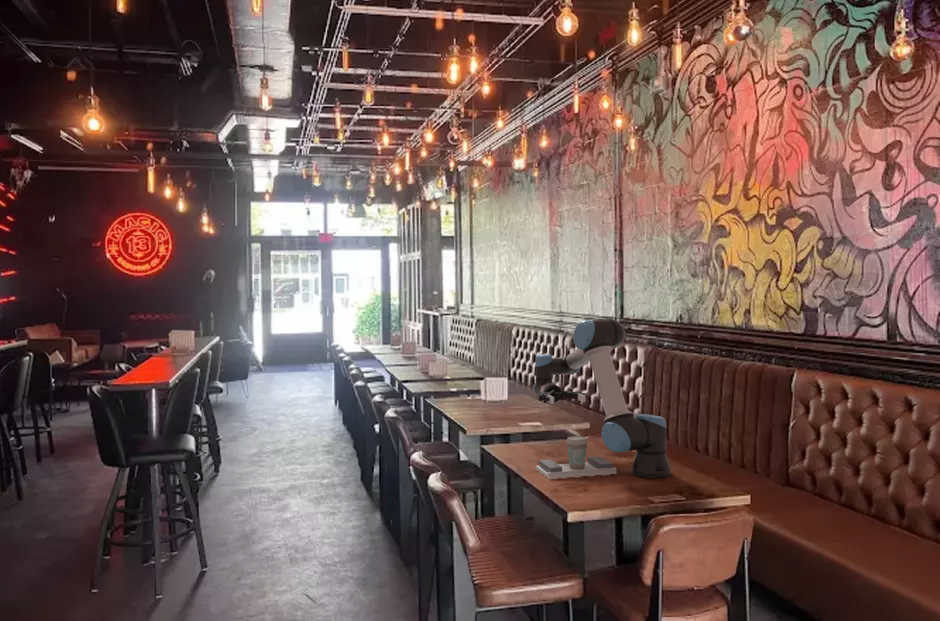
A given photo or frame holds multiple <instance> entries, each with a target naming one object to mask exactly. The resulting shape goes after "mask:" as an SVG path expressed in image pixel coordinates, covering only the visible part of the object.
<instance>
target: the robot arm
mask: <svg viewBox="0 0 940 621" xmlns="http://www.w3.org/2000/svg"><path fill="white" fill-rule="evenodd" d="M625 339H626V331H625V328H624V326H623V324H622V323H620V322H619V321H617V320H616V319H611V318H606V319H587V320H581V321H579V323H577V324H576V326H575V328H574V331H573V339H572V340H573V344H574V346H575V347H576V349H575V350H573V351H571V352H570V353H569V354H567V355H566V356H564V357H558V358H557V357H555V358H553V355H552V354H545V353H544V354H537V355H536V356H535V362H534V364H535V366H534V367H535V382H534V384H533V386H532V391H533V392H534V394H535V396H537V397H538V401H539V402H543V404H547V403H549V404H551V405H554V404H555V403H557V402H559V401H560V400H568V399H569V400H570V399H571V400H577V401H580V402H582V403H586V392H582V391H573V390H563V389H562V388H561V387H560V386H558V385H556V384H554V383H553V376H555V375H556V376H558V375H559V376H560V375H561V376H562V375H573V374H578V373H579V372H580V370H581V368H582V367H583V366H584V365H587V363H589V362H590V366H591V369H592V373H593V375H594V376H593V377H594V379H595V382H596V385H597V386H596V387H597V389H598V392H599V396H600V400H601V402H602V405H603V406H602V407H603V410H604V413H605V417H604V419H603V423H604V424H603V426H602V427H601V438H602V441H603V443H604V445H605V446H606V448H607V449H609V450H610V451H611V452H613V453H626V452H632V451H635V456H634V459H633V461H632V464H631V474H632V475H633V476H636V477H640V478H645V479H664V478H668V477H671V475H672V467H671V466H670V462H669V459H668V456H667V429H668V428H667V421H666V418H665V417H663V416H659V415H654V414H645V413H637V414H636V415H635V416H634V412H632V411H630V410H629V409H628V406H627V404H626V401H625V398H624V397H625V396H624V394H623V389H622V387H621V384H620V381H619V377H618V374H617V371H616V367H615V364H614V362H613V358H612V355H611V351H614V350H615V349H617V348H618V347H619V346H621V345H622V344H623V343H624V341H625Z"/></svg>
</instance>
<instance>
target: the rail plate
mask: <svg viewBox="0 0 940 621" xmlns="http://www.w3.org/2000/svg"><path fill="white" fill-rule="evenodd" d="M535 470H536V471H537V472H538V471H539V472H538V473H539V474H541V475H542V474H543V475H542V476H544V477H545V478H546V477H547V478H546V479H548V480H559V479H558V478H562V479H568V478H567V477H575V478H581V477H580V476H589V477H595V476H594V475H602V476H611V475H610V474H615V475H617V467H613V463H612V462H610V461H609V460H607V459H605V458H603V457H601V456H599V455H598V456H597V455H596V456H587V462H586V461H585V468H584V469H571V468H570V464H569V463H557V462H555V460H552V459H541V460H540V459H539V462H538V465H535Z"/></svg>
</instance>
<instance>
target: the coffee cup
mask: <svg viewBox="0 0 940 621" xmlns="http://www.w3.org/2000/svg"><path fill="white" fill-rule="evenodd" d="M565 443H566V445H567V454H568V456H567V457H568V464H570V468H571V469H584V468H585V462H586V457H587V448H588V447H587V446H588V443H589V442H588V440H587V437H585V436H582V435H581V436H580V435H572V436H571V435H570V436H567V439H566V442H565Z"/></svg>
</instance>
